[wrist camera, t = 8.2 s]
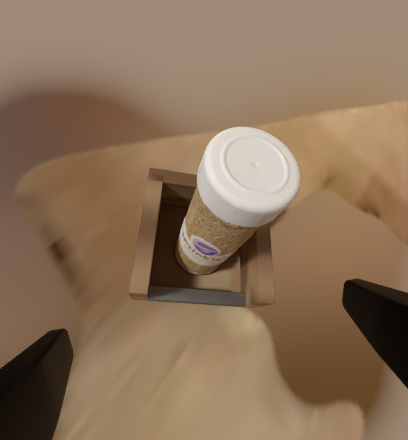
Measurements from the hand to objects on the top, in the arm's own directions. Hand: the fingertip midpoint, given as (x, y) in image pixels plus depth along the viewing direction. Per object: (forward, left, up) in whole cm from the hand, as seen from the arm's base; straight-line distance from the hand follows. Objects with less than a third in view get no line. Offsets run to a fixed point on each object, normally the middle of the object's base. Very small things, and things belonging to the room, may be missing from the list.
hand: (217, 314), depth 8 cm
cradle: (+5, -4, -13) cm, 15 cm away
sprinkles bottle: (+5, -4, -14) cm, 15 cm away
